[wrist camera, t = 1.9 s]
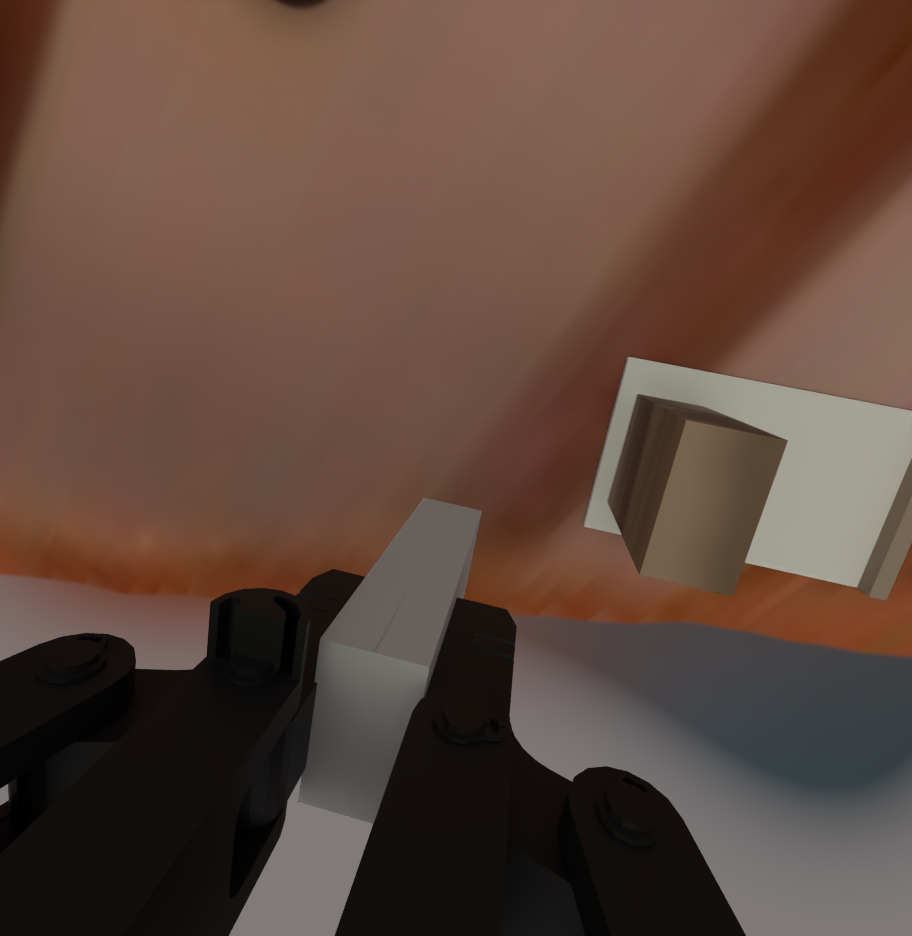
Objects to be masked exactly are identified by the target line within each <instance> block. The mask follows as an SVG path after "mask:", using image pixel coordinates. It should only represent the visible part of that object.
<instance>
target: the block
mask: <svg viewBox="0 0 912 936" xmlns="http://www.w3.org/2000/svg"><path fill="white" fill-rule="evenodd" d="M787 442H788V440H786V439H783V438H781V437H778V436H776V435H773V434H771V433H768V432H766V431H763V430H761V429H758V428H756V427H753V426H751V425H749V424H746V423H744V422H741V421H739V420H736V419H734V418H731V417H729V416H726V415H724V414H721V413H719V412H716V411H714V410H711V409H709V408H707V407H704V406H699V405H694V404H689V403H684V402H679V401H674V400H669V399H664V398H659V397H654V396H649V395H644V394H639V393H636V397H635V401H634V404H633V408H632V412H631V415H630V419H629V423H628V426H627V430H626V434H625V437H624V441H623V445H622V448H621V452H620V456H619V459H618V463H617V467H616V470H615V474H614V478H613V481H612V485H611V488H610V492H609V496H608V499H607V502H608V505H609V507H610V509H611V511H612V514H613V516H614V518H615V521H616V523H617V525H618V527H619V530H620V532H621V534H622V536H623V539H624V541H625V543H626V546H627V548H628V550H629V552H630V555H631V557H632V559H633V561H634V564H635V566H636V568H637V571H638V573H639V575H641V576H646V577H650V578H654V579H659V580H663V581H668V582H672V583H676V584H681V585H685V586H689V587H694V588H698V589H702V590H707V591H711V592H715V593H720V594H724V595H729V596H733V594H734V591H735V588H736V585H737V582H738V580H739V577H740V574H741V571H742V568H743V566H744V563H745V560H746V557H747V554H748V552H749V549H750V546H751V543H752V540H753V538H754V535H755V532H756V529H757V526H758V524H759V521H760V518H761V515H762V512H763V509H764V507H765V504H766V501H767V498H768V495H769V493H770V490H771V487H772V484H773V481H774V479H775V476H776V473H777V470H778V467H779V465H780V462H781V459H782V456H783V453H784V451H785V448H786V445H787Z"/></svg>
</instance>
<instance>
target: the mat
mask: <svg viewBox="0 0 912 936" xmlns="http://www.w3.org/2000/svg"><path fill="white" fill-rule="evenodd" d="M636 393H639V394H644V395H649V396H654V397H659V398H664V399H669V400H674V401H679V402H684V403H689V404H694V405H699V406H704V407H707V408H709V409H711V410H714V411H716V412H719V413H721V414H724V415H726V416H729V417H731V418H734V419H736V420H739V421H741V422H744V423H746V424H749V425H751V426H753V427H756V428H758V429H761V430H763V431H766V432H768V433H771V434H773V435H776V436H778V437H781V438H783V439H786V440H788V442H787V445H786V448H785V451H784V453H783V456H782V459H781V462H780V465H779V467H778V470H777V473H776V476H775V479H774V481H773V484H772V487H771V490H770V493H769V495H768V498H767V501H766V504H765V507H764V509H763V512H762V515H761V518H760V521H759V524H758V526H757V529H756V532H755V535H754V538H753V540H752V543H751V546H750V549H749V552H748V554H747V557H746V560H745V563H749V564H753V565H758V566H762V567H767V568H771V569H776V570H780V571H785V572H789V573H794V574H798V575H803V576H807V577H812V578H816V579H821V580H825V581H830V582H834V583H839V584H843V585H848V586H852V587H857V588H858V589H859V590H861V591H862V592H863V593H865V594H866V595H867V596H868V597H872V598H877V599H881V600H887V597H888V595H889V593H890V591H891V588H892V586H893V584H894V582H895V579H896V577H897V575H898V572H899V570H900V568H901V566H902V563H903V561H904V559H905V557H906V554H907V552H908V550H909V548H910V545H911V543H912V411H909V410H904V409H899V408H894V407H889V406H883V405H878V404H873V403H868V402H862V401H857V400H852V399H847V398H842V397H836V396H831V395H826V394H821V393H816V392H810V391H805V390H800V389H795V388H789V387H784V386H779V385H774V384H769V383H763V382H758V381H753V380H748V379H742V378H737V377H732V376H727V375H722V374H716V373H711V372H706V371H701V370H696V369H690V368H685V367H680V366H675V365H669V364H664V363H659V362H654V361H649V360H643V359H638V358H633V357H628V356H627V359H626V362H625V366H624V370H623V374H622V378H621V381H620V385H619V389H618V393H617V397H616V400H615V404H614V408H613V412H612V415H611V419H610V423H609V427H608V431H607V434H606V438H605V442H604V446H603V450H602V453H601V457H600V461H599V465H598V468H597V472H596V476H595V480H594V484H593V487H592V491H591V495H590V499H589V503H588V506H587V510H586V514H585V518H584V522H583V526H584V527H588V528H592V529H597V530H601V531H606V532H610V533H615V534H619V535H622V534H621V532H620V530H619V527H618V525H617V523H616V521H615V518H614V516H613V514H612V511H611V509H610V507H609V505H608V502H607V499H608V496H609V492H610V488H611V485H612V481H613V478H614V474H615V470H616V467H617V463H618V459H619V456H620V452H621V448H622V445H623V441H624V437H625V434H626V430H627V426H628V423H629V419H630V415H631V412H632V408H633V404H634V401H635V397H636Z"/></svg>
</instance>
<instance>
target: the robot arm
mask: <svg viewBox="0 0 912 936" xmlns="http://www.w3.org/2000/svg"><path fill="white" fill-rule="evenodd" d="M481 513H482V511H480V510H476V509H472V508H467V507H463V506H458V505H454V504H450V503H445V502H441V501H436V500H432V499H428V498H423V499H422V501H421V502H420V503H419V505H418V506H417V507H416V509H415V510H414V512H413V513H412V514H411V516H410V517H409V518H408V520H407V521H406V522H405V524H404V525H403V526H402V528H401V529H400V531H399V532H398V533H397V535H396V536H395V537H394V539H393V540H392V541H391V543H390V544H389V546H388V547H387V548H386V550H385V551H384V552H383V554H382V555H381V556H380V558H379V559H378V561H377V562H376V563H375V565H374V566H373V567H372V569H371V570H370V571H369V573H368V574H367V576H366V577H363V576H359V575H355V574H351V573H347V572H343V571H339V570H335V569H332V570H330V571H328V572H325V573H323V574H321V575H318V576H316V577H314V578H312V579H311V580H310V581H309V582H308V583H307V584H306V586H305V587H304V588H303V589H302V590H301V591H300V594H297V595H296V596H294V595H292V594H289V593H287V592H284V591H281V590H273V589H266V588H255V589H242V590H238V591H234V592H230V593H226V594H224V595H222V596H220V597H218V598H217V599H215V600H213V601H211V605H210V617H209V618H210V619H209V632H208V646H207V657H206V658H204V659H203V660H202V661H201V662H200V663H199V664H198V665H197V666H196V667H195V668H194V669H193V670H151V669H135V664H136V658H135V652H134V648H133V647H132V646H131V645H130V644H129V643H128V642H127V641H126V640H124V639H122V638H118V637H115V636H112V635H109V634H94V633H83V634H77V635H70V636H63V637H60V638H56V639H53V640H51V641H48V642H44V643H41V644H38V645H36V646H34V647H32V648H29V649H27V650H25V651H22V652H20V653H18V654H16V655H13V656H11V657H9V658H6V659H4V660H2V661H0V788H2V787H3V786H5V785H7V784H8V792H9V801H7V802H6V803H4V804H2V805H1V806H0V936H229V934H230V932H231V930H232V928H233V926H234V924H235V922H236V921H237V919H238V917H239V915H240V913H241V911H242V909H243V907H244V905H245V903H246V901H247V899H248V897H249V896H250V893H251V892H252V890H253V888H254V886H255V884H256V882H257V880H258V878H259V876H260V874H261V872H262V870H263V868H264V866H265V865H266V863H267V861H268V859H269V857H270V855H271V853H272V851H273V849H274V847H275V845H276V843H277V841H278V840H279V838H280V835H281V832H282V828H283V825H284V821H285V816H286V808H287V800H288V799H289V797H290V795H291V793H292V791H293V789H294V788H295V786H296V784H297V782H298V780H299V779H300V777H301V775H302V777H301V785H300V792H299V800H298V802H302V803H305V804H309V805H312V806H316V807H319V808H322V809H326V810H329V811H333V812H336V813H339V814H343V815H346V816H350V817H353V818H357V819H360V820H363V821H367V822H370V823H373V827H372V830H371V833H370V835H369V839H368V841H367V844H366V847H365V850H364V853H363V856H362V859H361V862H360V864H359V867H358V870H357V873H356V876H355V879H354V882H353V885H352V887H351V890H350V893H349V896H348V899H347V902H346V905H345V908H344V911H343V913H342V916H341V919H340V922H339V925H338V928H337V931H336V934H335V936H746V935H745V933H744V931H743V929H742V928H741V926H740V924H739V922H738V920H737V918H736V916H735V915H734V913H733V911H732V909H731V907H730V905H729V904H728V902H727V900H726V898H725V896H724V894H723V893H722V891H721V889H720V887H719V885H718V883H717V882H716V880H715V878H714V876H713V874H712V872H711V870H710V868H709V867H708V865H707V863H706V861H705V859H704V857H703V855H702V854H701V852H700V850H699V848H698V846H697V844H696V843H695V841H694V839H693V837H692V835H691V833H690V832H689V830H688V828H687V826H686V824H685V822H684V820H683V819H682V817H681V816H680V815H679V813H678V812H677V811H676V809H675V808H674V806H673V805H672V804H671V803H670V801H669V800H668V799H667V798H666V797H665V796H664V795H663V794H662V793H660V792H659V791H658V790H657V789H656V788H654V787H653V786H652V785H651V784H650V783H648V782H646V781H644V780H643V779H641V778H639V777H637V776H635V775H633V774H631V773H629V772H627V771H623V770H619V769H615V768H611V767H607V766H606V767H595V768H587V769H586V770H584V771H583V772H581V773H580V774H578V775H577V776H575V777H574V779H573V782H571V781H569V780H568V779H566V778H564V777H562V776H560V775H559V774H557V773H555V772H553V771H551V770H549V769H548V768H546V767H545V766H544V765H542V764H540V763H539V762H538V761H536V760H535V759H534V758H533V757H531V756H530V755H529V754H528V753H527V752H526V751H525V750H524V749H523V748H522V747H521V745H520V743H519V742H518V741H517V739H516V738H515V736H514V733H513V731H512V728H511V723H510V716H509V713H510V701H511V689H512V676H513V664H514V660H513V659H514V651H515V638H516V625H515V623H514V621H513V620H512V618H511V616H510V614H509V612H508V611H507V610H506V609H502V608H498V607H494V606H490V605H486V604H482V603H478V602H473V601H469V600H465V599H464V594H465V590H466V585H467V580H468V575H469V571H470V566H471V561H472V556H473V551H474V547H475V542H476V537H477V532H478V528H479V523H480V518H481Z"/></svg>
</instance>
